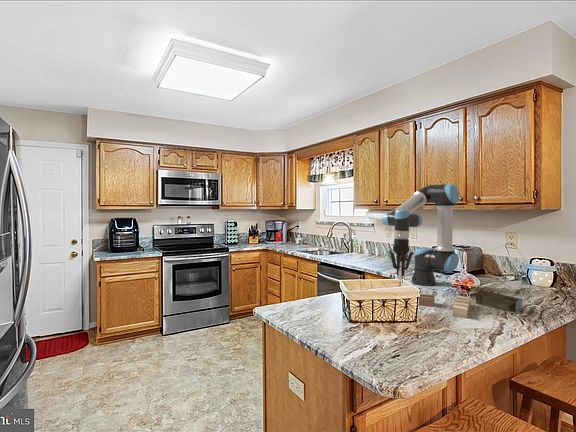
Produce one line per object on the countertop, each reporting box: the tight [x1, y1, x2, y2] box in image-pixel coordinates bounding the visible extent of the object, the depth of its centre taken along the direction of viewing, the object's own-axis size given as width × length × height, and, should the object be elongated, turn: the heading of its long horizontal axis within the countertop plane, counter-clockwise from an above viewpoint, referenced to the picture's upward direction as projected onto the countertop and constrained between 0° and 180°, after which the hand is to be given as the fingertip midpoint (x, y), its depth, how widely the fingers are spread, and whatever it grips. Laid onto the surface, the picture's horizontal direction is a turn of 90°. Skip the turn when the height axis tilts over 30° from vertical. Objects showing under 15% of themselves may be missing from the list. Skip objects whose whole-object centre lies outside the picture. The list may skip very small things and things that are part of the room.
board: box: [451, 295, 472, 319], centre depth 166 cm, size 24×6×4 cm, turn 148°
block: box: [418, 293, 436, 308], centre depth 176 cm, size 7×10×4 cm
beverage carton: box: [475, 290, 523, 314], centre depth 172 cm, size 8×19×7 cm, turn 35°
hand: (400, 281), depth 182 cm, fingers closed
